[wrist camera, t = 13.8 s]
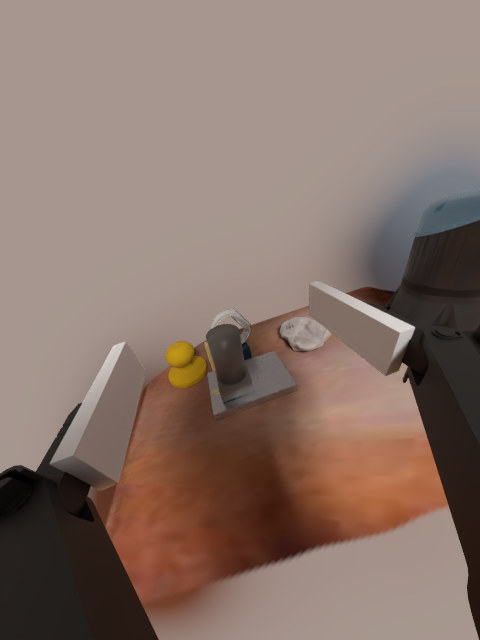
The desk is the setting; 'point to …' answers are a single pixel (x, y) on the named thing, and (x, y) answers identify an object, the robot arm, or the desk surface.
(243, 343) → the watch
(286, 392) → the hub plate
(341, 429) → the desk surface
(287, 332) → the fossil
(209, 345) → the cylinder
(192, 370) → the yellow stacked oval discs
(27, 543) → the robot arm
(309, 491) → the desk surface
